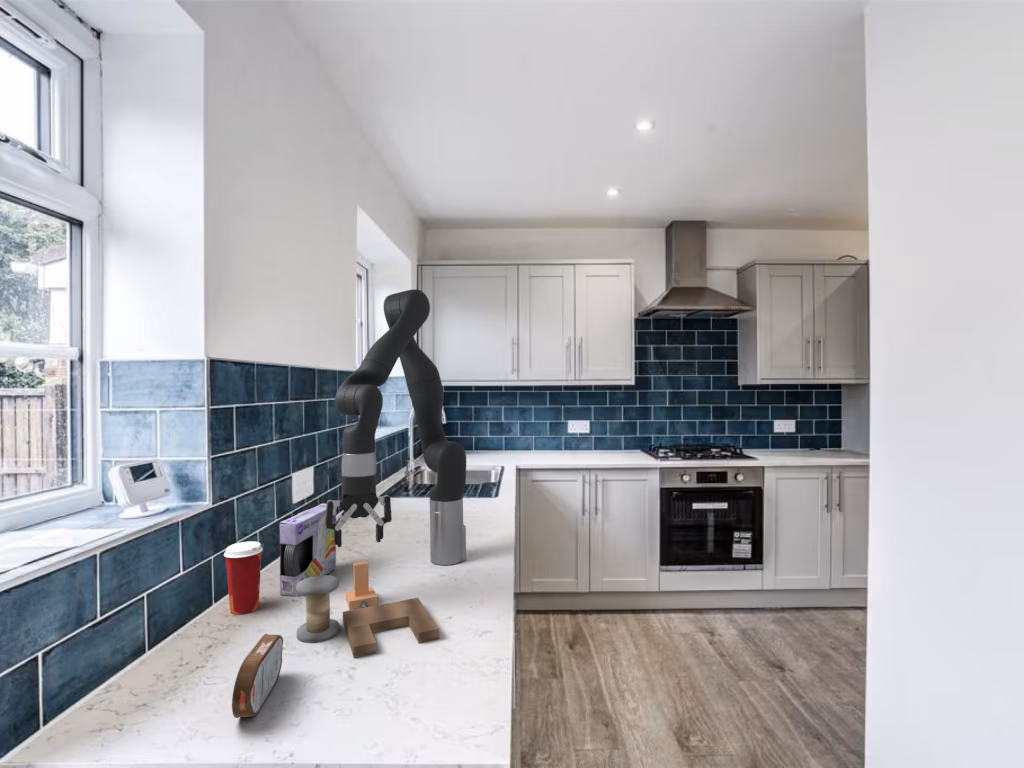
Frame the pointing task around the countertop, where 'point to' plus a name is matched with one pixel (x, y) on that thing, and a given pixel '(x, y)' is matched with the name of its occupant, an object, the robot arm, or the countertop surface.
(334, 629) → the bobbin
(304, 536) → the cake pan box
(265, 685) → the tin
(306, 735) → the countertop surface
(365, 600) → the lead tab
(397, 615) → the brown flat u-shaped block
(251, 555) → the paper cup
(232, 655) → the countertop surface
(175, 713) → the countertop surface
